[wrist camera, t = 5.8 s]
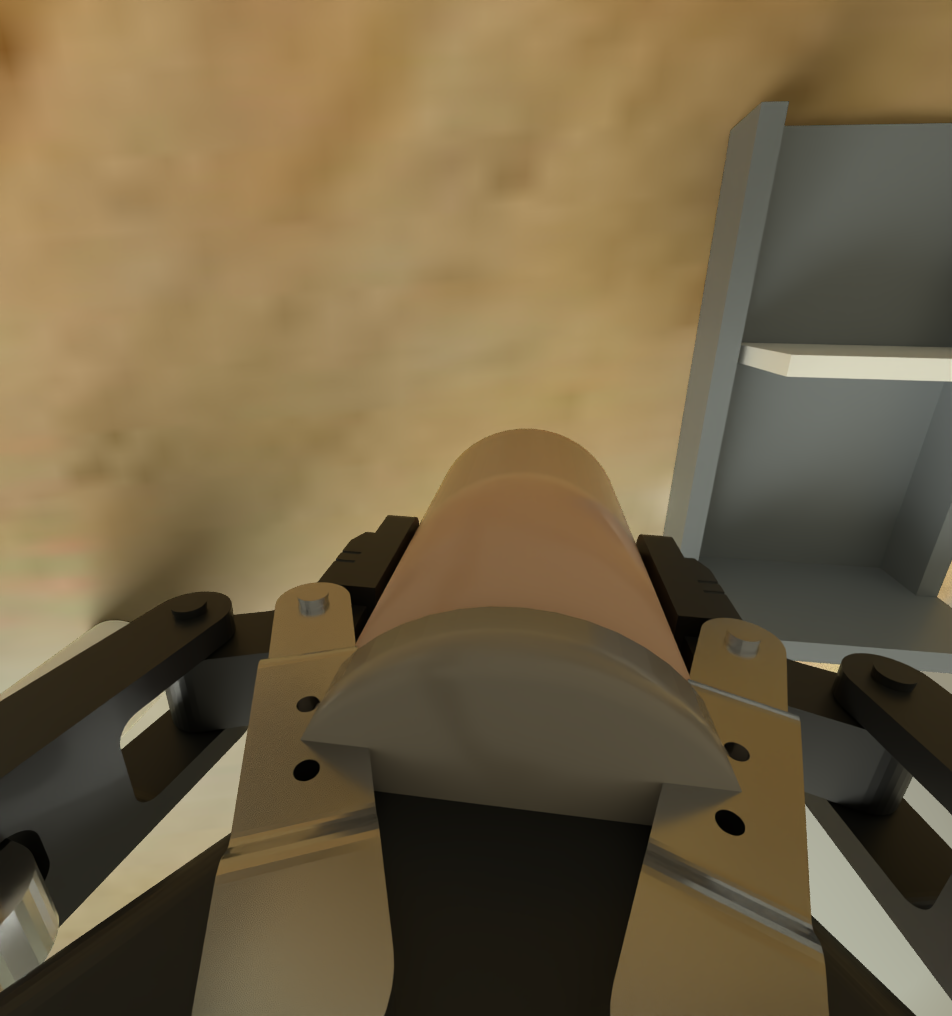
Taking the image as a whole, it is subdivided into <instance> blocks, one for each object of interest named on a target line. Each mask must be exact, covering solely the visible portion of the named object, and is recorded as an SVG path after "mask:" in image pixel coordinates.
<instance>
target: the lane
mask: <svg viewBox="0 0 952 1016" xmlns="http://www.w3.org/2000/svg"><path fill="white" fill-rule="evenodd" d="M788 104H789V101H781V102H761V103H760V104H759V105H758V106H757V107H756V108H755V109H753V110H752V111H751V112H750V113H749V114H748V115H747V116H746V117H745V118H744V119H742V120H741V121H740V122H739V123H738V124H737V125H736V126H735V127H734V128H733V129H732V130H730V136H729V142H728V148H727V155H726V161H725V167H724V173H723V179H722V185H721V191H720V197H719V203H718V209H717V215H716V221H715V227H714V233H713V239H712V245H711V251H710V257H709V263H708V269H707V275H706V281H705V287H704V293H703V299H702V305H701V311H700V317H699V323H698V329H697V335H696V341H695V347H694V353H693V359H692V365H691V371H690V377H689V383H688V389H687V395H686V401H685V408H684V414H683V420H682V426H681V432H680V438H679V444H678V450H677V456H676V462H675V468H674V474H673V480H672V486H671V492H670V498H669V504H668V510H667V516H666V522H665V528H664V534H663V536H668V537H673V539H674V540H675V542H676V544H677V546H678V547H679V549H680V551H681V553H682V554H683V556H684V557H685V558H695V559H696V560H697V561H699V562H700V563H702V564H703V565H704V566H706V567H707V568H709V569H710V570H711V572H712V573H713V575H714V576H715V578H716V579H717V581H718V584H720V586H721V587H722V589H723V590H724V592H725V593H724V594H725V595H727V597H728V598H729V600H730V601H731V603H732V604H733V606H734V607H735V609H736V611H737V612H738V614H739V615H740V617H741V618H742V620H743V621H746V622H750V623H753V624H755V625H758V626H760V627H762V628H764V629H766V630H767V631H769V632H771V633H772V634H773V635H775V636H776V637H777V638H778V639H779V640H780V641H781V642H782V643H783V645H784V646H785V648H786V655H787V659H790V660H793V661H805V662H818V663H830V664H841V661H842V659H843V658H844V657H845V656H847V655H850V654H854V653H868V654H875V655H880V656H884V657H887V658H891V659H894V660H896V661H899V662H902V663H904V664H906V665H909V666H911V667H913V668H915V669H917V670H918V671H929V672H940V673H952V608H951V607H950V606H949V605H947V604H946V603H944V602H943V601H942V600H940V599H939V598H938V597H937V595H938V593H939V590H940V588H941V585H942V583H943V581H944V578H945V576H946V573H947V571H948V568H949V566H950V563H951V561H952V381H918V380H883V379H849V378H815V377H786V376H782V375H779V374H776V373H772V372H769V371H765V370H762V369H758V368H755V367H751V366H748V365H745V364H741V363H738V357H739V352H740V347H741V343H785V344H828V345H872V346H915V347H951V348H952V123H928V124H870V125H812V126H784V125H785V120H786V115H787V109H788Z"/></svg>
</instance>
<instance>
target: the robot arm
mask: <svg viewBox="0 0 952 1016" xmlns="http://www.w3.org/2000/svg"><path fill="white" fill-rule="evenodd" d="M418 526H419V521H418V518H417V517H406V516H393V515H388V516H387V517H386V518H385V520H384V521H383V523H382V524H381V525H380V527H379V528H378V530H377V531H376V533H371V532H365V533H363V534H361V535H360V536H358V537H356V538H354V539H352V540H351V541H350V542H349V543H348V544H347V546H346V547H345V548H344V549H343V552H342V553H340V555H339V556H338V557H337V558H336V561H334V562H333V563H332V565H331V566H330V567H329V568H328V570H327V571H326V572H325V574H324V575H323V576H322V577H321V579H320V580H319V581H318V582H317V583H309V584H304V585H300V586H297V587H295V588H292V589H290V590H288V591H287V592H285V593H284V594H282V595H281V596H280V597H279V598H278V600H277V602H276V605H275V610H273V611H266V612H257V613H247V614H237V615H233V609H232V603H231V600H230V598H228V597H227V596H226V595H224V594H221V593H216V592H195V593H190V594H185V595H181V596H178V597H175V598H173V599H170V600H168V601H166V602H164V603H162V604H160V605H159V606H157V607H155V608H154V609H152V610H150V611H149V612H147V613H145V614H144V615H142V616H141V617H139V618H137V619H136V620H134V621H132V622H131V623H129V624H127V625H126V626H124V627H122V628H121V629H119V630H117V631H116V632H114V633H112V634H111V635H109V636H107V637H106V638H104V639H102V640H101V641H99V642H98V643H96V644H94V645H93V646H91V647H89V648H88V649H86V650H84V651H83V652H81V653H79V654H78V655H76V656H74V657H73V658H71V659H69V660H68V661H66V662H64V663H63V664H61V665H59V666H58V667H56V668H54V669H53V670H51V671H50V672H48V673H46V674H45V675H43V676H41V677H40V678H38V679H36V680H35V681H33V682H31V683H30V684H28V685H26V686H25V687H23V688H21V689H20V690H18V691H16V692H15V693H13V694H11V695H10V696H8V697H6V698H5V699H3V700H2V701H0V1016H916V1015H915V1014H914V1013H913V1012H912V1011H911V1010H910V1009H909V1008H908V1007H907V1006H906V1005H904V1004H903V1003H902V1002H901V1001H900V1000H899V999H898V998H897V997H896V996H895V995H894V994H893V993H892V992H891V991H890V990H889V989H888V988H887V987H886V986H885V985H884V984H883V983H882V982H881V981H879V980H878V979H877V978H876V977H875V976H874V975H873V974H872V973H871V972H870V971H869V970H868V969H867V968H866V967H865V966H864V965H863V964H862V963H861V962H860V961H859V960H858V959H856V957H854V956H853V955H852V954H851V953H850V952H849V951H848V950H847V949H846V948H845V947H844V946H843V945H842V944H841V943H840V942H839V941H838V940H837V939H836V938H835V937H834V936H832V934H831V933H830V932H828V931H827V930H826V929H825V928H824V927H823V926H822V925H821V924H820V923H819V922H818V921H817V920H816V919H815V918H814V917H813V916H812V915H811V906H810V888H809V870H808V851H807V832H806V815H805V804H806V806H807V807H808V808H809V810H810V811H811V812H812V814H813V815H814V816H815V818H816V819H817V820H818V822H819V823H820V824H821V826H822V827H823V828H824V830H825V831H826V832H827V834H828V835H829V837H830V838H831V839H832V841H833V842H834V843H835V845H836V846H837V847H838V849H839V850H840V851H841V853H842V854H843V855H844V857H845V858H846V859H847V861H848V862H849V863H850V865H851V866H852V867H853V869H854V870H855V871H856V873H857V874H858V875H859V877H860V878H861V879H862V881H863V882H864V883H865V885H866V886H867V888H868V889H869V890H870V892H871V893H872V894H873V895H874V897H875V898H876V900H877V901H878V902H879V904H880V905H881V906H882V907H883V909H884V910H885V912H886V913H887V914H888V916H889V917H890V918H891V920H892V921H893V922H894V924H895V925H896V926H897V928H898V929H899V930H900V932H901V933H902V934H903V935H904V937H905V938H906V940H907V941H908V942H909V944H910V945H911V946H912V948H913V949H914V950H915V952H916V953H917V955H918V956H919V957H920V958H921V960H922V961H923V963H924V964H925V965H926V966H927V968H928V969H929V971H930V972H931V973H932V975H933V976H934V977H935V978H936V980H937V981H938V983H939V984H940V985H941V987H942V988H943V989H944V991H945V992H946V993H947V994H948V996H949V997H950V998H951V1000H952V849H951V848H950V847H949V846H948V845H947V844H946V842H945V841H944V840H943V839H942V838H941V837H940V836H939V835H938V834H937V833H936V832H935V831H934V830H933V829H932V828H931V827H930V826H929V825H928V824H927V822H925V821H924V819H923V818H922V817H921V816H920V815H919V814H918V813H917V812H916V811H915V810H914V809H913V808H912V807H911V806H910V805H909V804H908V803H907V801H906V800H905V799H904V798H903V796H904V794H905V792H906V789H907V788H908V786H909V784H910V781H911V779H912V777H914V778H915V779H916V780H917V781H918V782H919V783H920V784H922V786H924V787H925V788H926V789H927V790H928V791H929V792H930V793H931V794H932V795H933V796H934V797H935V798H936V799H937V800H938V801H939V802H940V803H941V804H942V805H943V806H944V807H945V808H946V809H947V810H948V811H949V812H950V814H951V815H952V694H950V693H949V692H948V691H947V690H945V689H944V688H942V687H941V686H940V685H939V684H937V683H936V682H935V681H933V680H932V679H931V678H929V677H928V676H926V675H925V674H923V673H922V672H920V671H918V670H917V669H915V668H913V667H911V666H909V665H906V664H904V663H902V662H899V661H896V660H894V659H891V658H887V657H884V656H880V655H875V654H868V653H854V654H850V655H847V656H845V657H844V658H843V659H842V661H841V664H840V667H839V670H838V672H837V673H834V672H831V671H827V670H824V669H820V668H816V667H813V666H809V665H805V664H802V663H799V662H795V661H793V660H790V659H787V655H786V648H785V646H784V645H783V643H782V642H781V641H780V640H779V639H778V638H777V637H776V636H775V635H773V634H772V633H771V632H769V631H767V630H766V629H764V628H762V627H760V626H758V625H755V624H753V623H750V622H746V621H743V620H742V618H741V617H740V615H739V614H738V612H737V611H736V609H735V607H734V606H733V604H732V603H731V601H730V600H729V598H728V597H727V595H725V594H724V593H725V592H724V590H723V589H722V587H721V586H720V584H718V581H717V579H716V578H715V576H714V575H713V573H712V572H711V570H710V569H709V568H707V567H706V566H704V565H703V564H702V563H700V562H699V561H697V560H696V559H695V558H685V557H684V556H683V554H682V553H681V551H680V549H679V547H678V546H677V544H676V542H675V540H674V539H673V537H668V536H655V535H642V534H640V535H639V537H638V539H637V542H636V546H637V548H638V551H639V553H640V556H641V558H642V560H643V563H644V565H645V568H646V570H647V573H648V575H649V578H650V580H651V583H652V585H653V587H654V590H655V592H656V595H657V597H658V600H659V602H660V605H661V607H662V610H663V612H664V614H665V617H666V619H667V622H668V624H669V627H670V629H671V632H672V634H673V637H674V639H675V642H676V644H677V646H678V649H679V651H680V654H681V656H682V659H683V661H684V664H685V666H686V669H687V671H688V673H689V676H690V678H691V679H688V682H689V683H690V684H691V685H692V687H693V688H694V689H695V690H696V692H697V693H698V694H699V695H700V697H701V698H702V699H703V700H704V702H705V704H706V707H707V709H708V711H709V714H710V716H711V719H712V721H713V723H714V726H715V728H716V731H717V733H718V735H719V738H720V740H721V742H722V745H723V747H725V748H726V749H727V751H728V753H729V754H730V756H731V757H729V756H728V755H727V757H728V759H729V762H730V764H731V766H732V769H733V771H734V774H735V776H736V778H737V781H738V783H739V785H740V788H741V790H742V792H739V791H731V790H722V789H714V788H705V787H697V786H688V785H680V784H671V783H663V784H662V788H661V792H660V796H659V801H658V805H657V809H656V813H655V817H654V821H653V825H652V826H650V825H642V824H634V823H626V822H618V821H610V820H602V819H594V818H587V817H579V816H571V815H563V814H555V813H547V812H539V811H531V810H523V809H515V808H507V807H499V806H491V805H483V804H475V803H467V802H459V801H451V800H443V799H435V798H427V797H419V796H411V795H403V794H395V793H387V792H379V791H374V788H373V780H372V771H371V762H370V754H369V748H365V747H357V746H348V745H340V744H331V743H323V742H314V741H306V740H300V739H301V737H302V736H303V734H304V732H305V730H306V728H307V726H308V725H309V723H310V721H311V719H312V717H313V715H314V714H315V712H316V710H317V708H318V707H317V708H316V709H315V710H313V709H314V708H315V706H316V705H317V704H318V703H319V702H320V703H321V701H322V699H323V697H324V695H325V693H326V692H327V690H328V688H329V686H330V684H331V682H332V681H333V679H334V677H335V675H336V673H337V671H338V670H339V668H340V666H341V664H342V663H343V662H344V661H345V660H346V659H348V658H349V657H350V656H351V655H352V654H353V653H354V652H355V651H356V650H358V649H357V646H355V644H356V642H357V640H358V638H359V636H360V635H361V633H362V631H363V629H364V627H365V625H366V623H367V621H368V620H369V618H370V616H371V614H372V612H373V610H374V608H375V607H376V605H377V603H378V601H379V599H380V597H381V595H382V594H383V592H384V590H385V588H386V586H387V584H388V582H389V580H390V579H391V577H392V575H393V573H394V571H395V569H396V567H397V566H398V564H399V562H400V560H401V558H402V556H403V554H404V553H405V551H406V549H407V547H408V545H409V543H410V541H411V540H412V538H413V536H414V534H415V532H416V530H417V528H418ZM164 691H166V696H167V700H168V704H169V708H170V709H169V710H168V711H167V712H166V713H165V714H163V715H162V716H161V717H160V718H159V719H157V720H156V721H155V722H154V723H153V724H151V725H150V726H149V727H148V728H147V729H145V730H144V731H143V732H142V733H141V734H139V735H138V736H137V737H136V738H135V739H133V740H132V741H131V742H130V743H129V744H127V745H126V746H125V747H124V748H123V749H120V738H121V735H122V732H123V730H124V727H125V726H126V724H127V723H128V721H129V720H130V719H131V718H132V717H133V715H135V714H136V713H137V712H138V711H139V710H141V709H142V708H143V707H144V706H146V705H147V704H148V703H150V702H151V701H152V700H153V699H155V698H156V697H157V696H158V695H160V694H161V693H162V692H164ZM312 710H313V711H312ZM247 729H248V731H247V738H246V744H245V750H244V756H243V763H242V769H241V775H240V781H239V788H238V794H237V800H236V806H235V813H234V819H233V825H232V831H231V833H230V834H228V835H227V836H225V837H224V838H223V839H221V840H220V841H218V842H217V843H215V844H214V845H212V846H211V847H210V848H208V849H207V850H205V851H204V852H202V853H201V854H199V855H198V856H197V857H195V858H194V859H192V860H191V861H189V862H188V863H186V864H185V865H184V866H182V867H181V868H179V869H178V870H176V871H175V872H173V873H172V874H171V875H169V876H168V877H166V878H165V879H163V880H162V881H160V882H159V883H158V884H156V885H155V886H153V887H152V888H150V889H149V890H147V891H146V892H144V893H143V894H142V895H140V896H139V897H137V898H136V899H134V900H133V901H131V902H130V903H129V904H127V905H126V906H124V907H123V908H121V909H120V910H118V911H117V912H116V913H114V914H113V915H111V916H110V917H108V918H107V919H105V920H104V921H103V922H101V923H100V924H98V925H97V926H95V927H94V928H92V929H91V930H90V931H88V932H87V933H85V934H84V935H82V936H81V937H79V938H78V939H77V940H75V941H74V942H72V943H71V944H69V945H68V946H66V947H65V948H64V949H62V950H61V951H59V952H58V953H56V954H55V955H53V956H52V957H50V958H49V959H48V960H46V961H45V959H46V958H47V956H48V954H49V952H50V950H51V949H52V947H53V945H54V942H55V939H56V936H57V933H58V928H59V927H60V926H61V925H62V924H63V923H64V921H65V920H66V919H67V918H68V917H69V916H70V915H71V914H72V913H73V912H74V911H75V910H76V909H77V908H78V907H79V906H80V905H81V904H82V903H83V902H84V901H85V900H86V898H87V897H88V896H89V895H90V894H91V893H92V892H93V891H94V890H95V889H96V888H97V887H98V886H99V885H100V884H101V883H102V882H103V881H104V880H105V879H106V878H107V877H108V875H109V874H110V873H111V872H112V871H113V870H114V869H115V868H116V867H117V866H118V865H119V864H120V863H121V862H122V861H123V860H124V859H125V858H126V857H127V856H128V855H129V854H130V853H131V851H132V850H133V849H134V848H135V847H136V846H137V845H138V844H139V843H140V842H141V841H142V840H143V839H144V838H145V837H146V836H147V835H148V834H149V833H150V832H151V831H152V830H153V828H154V827H155V826H156V825H157V824H158V823H159V822H160V821H161V820H162V819H163V818H164V817H165V816H166V815H167V814H168V813H169V812H170V811H171V810H172V809H173V808H174V807H175V805H176V804H177V803H178V802H179V801H180V800H181V799H182V798H183V797H184V796H185V795H186V794H187V793H188V792H189V791H190V790H191V789H192V788H193V787H194V786H195V785H196V784H197V782H198V781H199V780H200V779H201V778H202V777H203V776H204V775H205V774H206V773H207V772H208V771H209V770H210V769H211V768H212V767H213V766H214V765H215V764H216V763H217V762H218V761H219V760H220V758H221V757H222V756H223V755H224V754H225V753H226V752H227V751H228V750H229V749H230V748H231V747H232V746H233V745H234V744H235V743H236V742H237V741H238V740H239V739H240V738H241V737H242V735H243V734H244V733H245V732H246V730H247ZM44 961H45V962H44Z"/></svg>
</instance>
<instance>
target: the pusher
mask: <svg viewBox="0 0 952 1016" xmlns="http://www.w3.org/2000/svg"><path fill="white" fill-rule="evenodd" d="M738 363H741V364H745V365H748V366H751V367H755V368H758V369H762V370H765V371H769V372H772V373H776V374H779V375H782V376H786V377H815V378H849V379H883V380H918V381H952V348H951V347H915V346H872V345H828V344H785V343H741V347H740V352H739V357H738Z"/></svg>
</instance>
